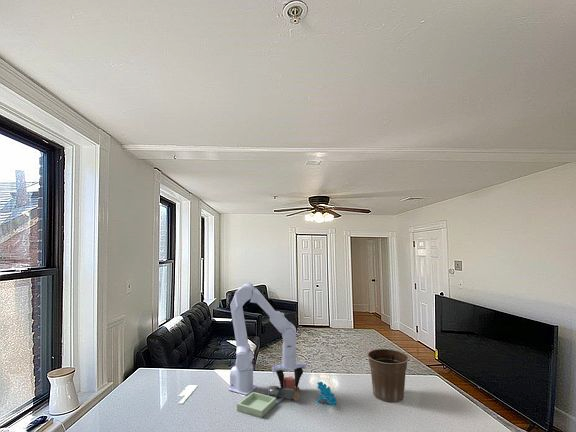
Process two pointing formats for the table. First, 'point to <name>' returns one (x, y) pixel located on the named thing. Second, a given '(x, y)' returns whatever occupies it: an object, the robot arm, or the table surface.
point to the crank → (284, 392)
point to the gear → (326, 394)
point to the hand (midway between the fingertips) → (289, 387)
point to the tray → (256, 404)
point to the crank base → (277, 399)
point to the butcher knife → (187, 393)
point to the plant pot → (388, 374)
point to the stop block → (289, 382)
